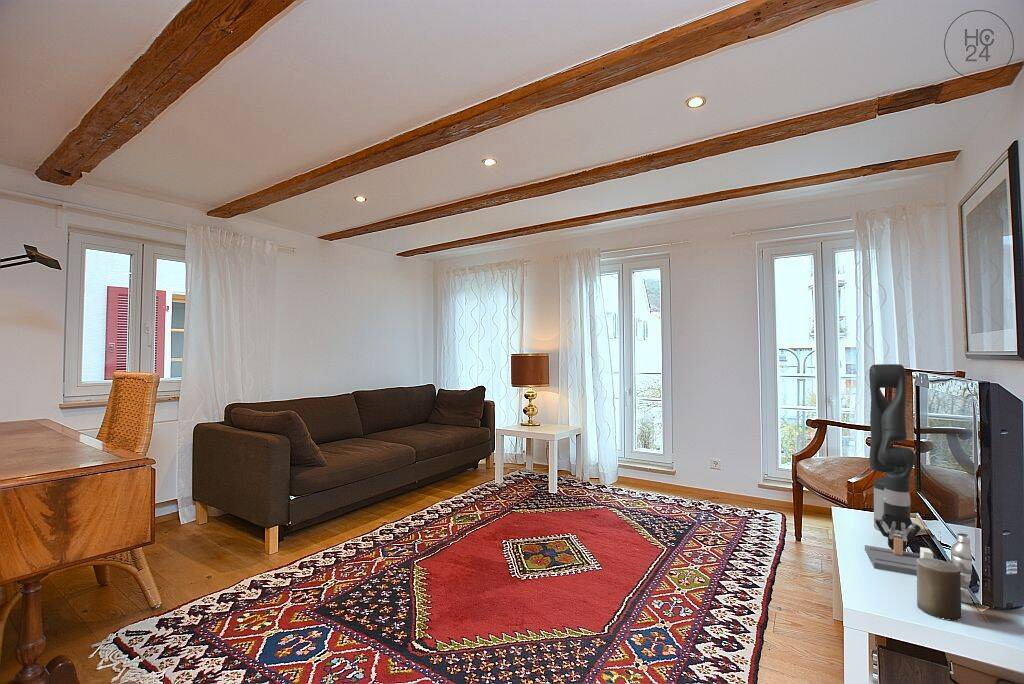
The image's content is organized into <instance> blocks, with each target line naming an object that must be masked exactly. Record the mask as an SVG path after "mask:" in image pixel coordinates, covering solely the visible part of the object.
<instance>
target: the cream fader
mask: <svg viewBox="0 0 1024 684" xmlns="http://www.w3.org/2000/svg"><path fill="white" fill-rule="evenodd" d="M919 551H920V552H919V554H920V558H932V559H933V556H934V553H933V551H932V550H931V549H930V548H927V547H921V546H920V547H919Z"/></svg>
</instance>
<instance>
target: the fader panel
mask: <svg viewBox="0 0 1024 684" xmlns="http://www.w3.org/2000/svg"><path fill="white" fill-rule="evenodd" d="M865 551H866V552H865ZM864 552H865V553H867V554H866V556H867V555H868V556H867V558H868V559H869V561H870V562H871V565H872V567H873V569H877V570H882V571H887V572H894V573H899V574H905V575H910V576H916V577H917V561H916V559H919V558H920V553H917V552H911V551H906V550H904V551H903V555H898V554H894V553H893V551H892V549H891V548H885V547H880V546H879V547H878V546H873V545H867V544H865V545H864ZM933 559H936V558H935V556H934V555H933Z"/></svg>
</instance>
